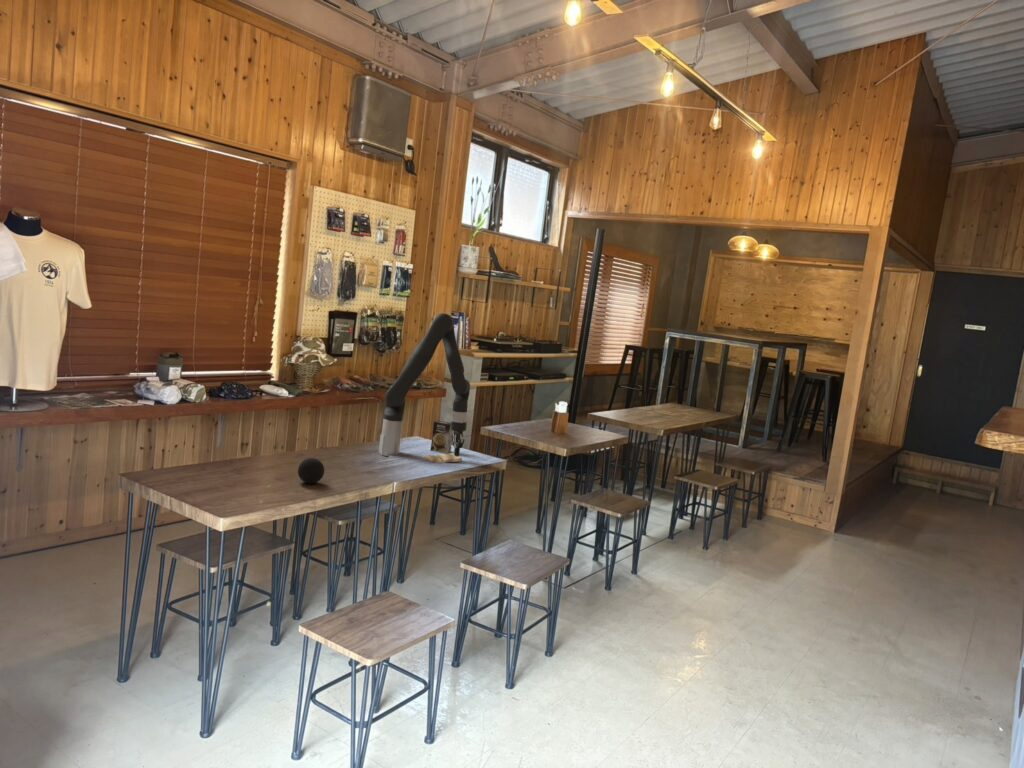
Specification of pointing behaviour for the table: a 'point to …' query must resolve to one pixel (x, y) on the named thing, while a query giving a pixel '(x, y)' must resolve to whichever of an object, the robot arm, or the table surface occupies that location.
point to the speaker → (311, 470)
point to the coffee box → (441, 437)
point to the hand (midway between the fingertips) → (456, 455)
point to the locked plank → (433, 459)
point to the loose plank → (449, 457)
